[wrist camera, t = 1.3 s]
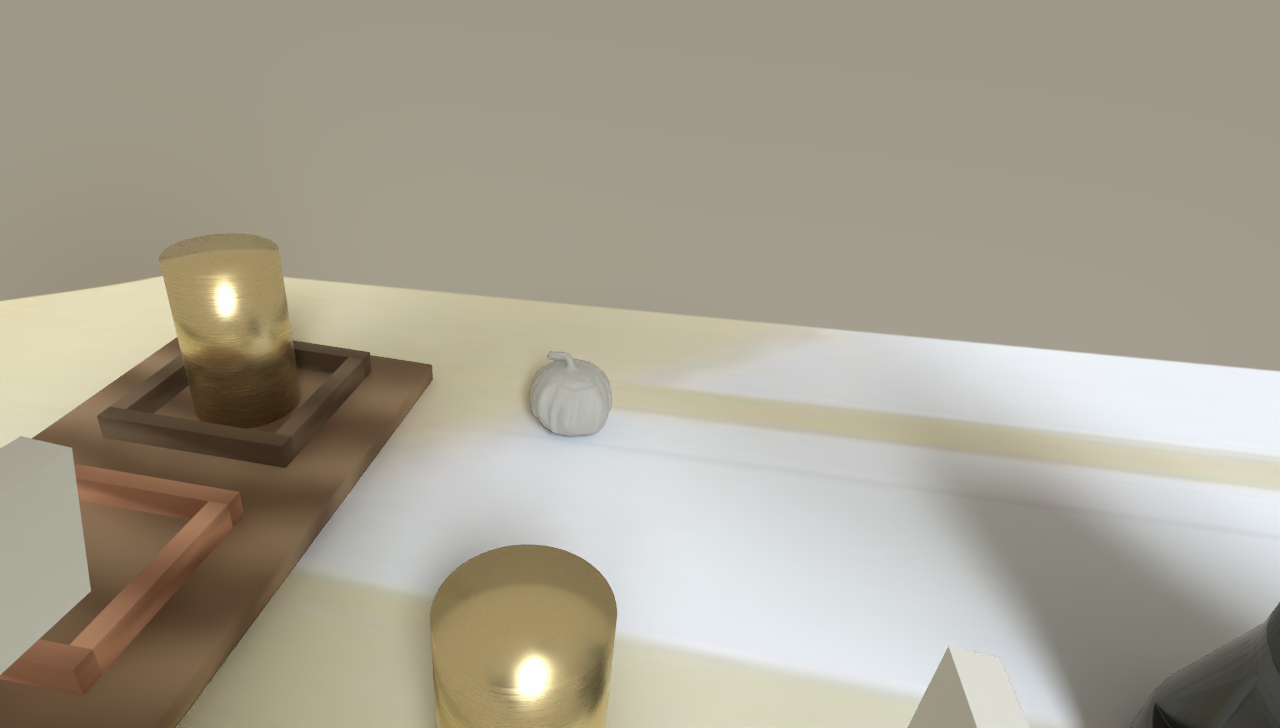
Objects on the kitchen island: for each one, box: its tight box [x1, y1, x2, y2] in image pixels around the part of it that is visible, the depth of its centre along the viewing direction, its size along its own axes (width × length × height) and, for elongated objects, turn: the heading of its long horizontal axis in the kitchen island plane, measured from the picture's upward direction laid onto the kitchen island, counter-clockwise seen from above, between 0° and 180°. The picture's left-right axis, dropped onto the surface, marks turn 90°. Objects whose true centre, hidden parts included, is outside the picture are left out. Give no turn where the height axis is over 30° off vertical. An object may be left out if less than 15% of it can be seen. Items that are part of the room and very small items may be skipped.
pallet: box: [0, 337, 433, 728], centre depth 43 cm, size 30×18×3 cm, turn 172°
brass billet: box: [430, 545, 617, 728], centre depth 28 cm, size 6×6×10 cm
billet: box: [159, 234, 301, 429], centre depth 47 cm, size 6×6×10 cm
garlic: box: [530, 352, 612, 436], centre depth 51 cm, size 6×5×5 cm
